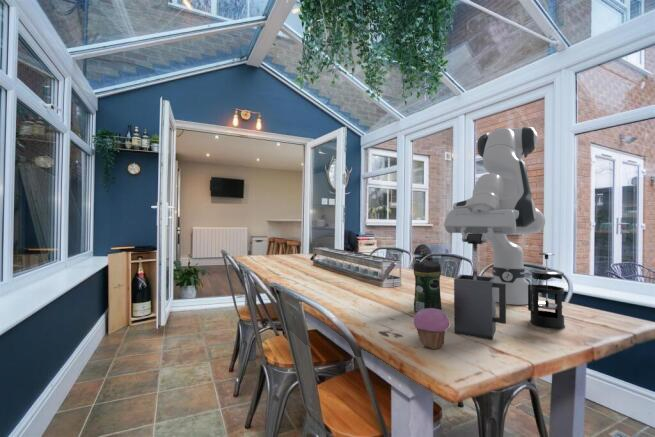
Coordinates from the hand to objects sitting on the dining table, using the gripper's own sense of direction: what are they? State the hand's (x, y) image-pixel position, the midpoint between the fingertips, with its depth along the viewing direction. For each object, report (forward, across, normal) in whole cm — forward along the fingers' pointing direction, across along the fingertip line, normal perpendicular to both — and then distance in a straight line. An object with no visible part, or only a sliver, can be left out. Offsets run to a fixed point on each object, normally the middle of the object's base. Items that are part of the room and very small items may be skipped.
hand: (474, 241), depth 95 cm
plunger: (+9, 0, -11) cm, 14 cm away
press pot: (+18, -1, -20) cm, 27 cm away
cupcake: (+33, +6, -6) cm, 34 cm away
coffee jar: (+10, +20, -28) cm, 36 cm away
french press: (+2, -15, -36) cm, 39 cm away
